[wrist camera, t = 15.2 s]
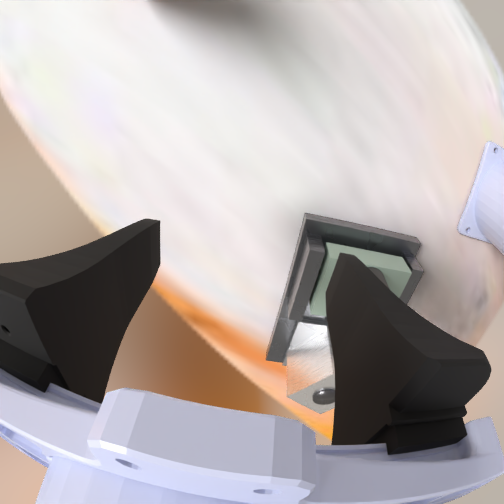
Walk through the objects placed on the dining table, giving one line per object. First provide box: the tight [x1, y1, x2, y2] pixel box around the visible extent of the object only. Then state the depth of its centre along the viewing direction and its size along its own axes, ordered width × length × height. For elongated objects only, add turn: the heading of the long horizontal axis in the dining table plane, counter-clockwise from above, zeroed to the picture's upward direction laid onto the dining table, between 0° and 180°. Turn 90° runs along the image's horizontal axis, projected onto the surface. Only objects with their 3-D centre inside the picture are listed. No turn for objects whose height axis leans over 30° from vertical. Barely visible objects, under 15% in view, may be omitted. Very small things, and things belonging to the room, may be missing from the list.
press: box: [266, 213, 424, 366], centre depth 23 cm, size 9×15×3 cm, turn 171°
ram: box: [309, 242, 412, 316], centre depth 18 cm, size 6×5×6 cm
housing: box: [287, 326, 335, 414], centre depth 23 cm, size 4×4×5 cm
